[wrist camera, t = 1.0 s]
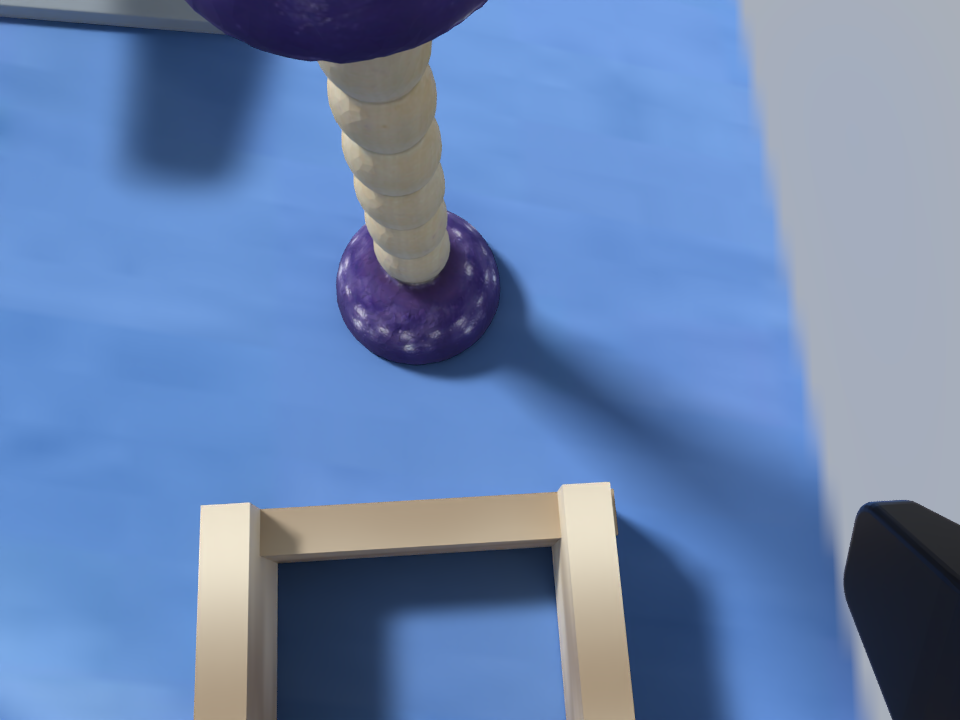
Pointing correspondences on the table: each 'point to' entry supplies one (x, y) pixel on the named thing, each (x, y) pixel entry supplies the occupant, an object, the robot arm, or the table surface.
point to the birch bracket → (398, 532)
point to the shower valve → (113, 13)
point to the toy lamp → (386, 166)
